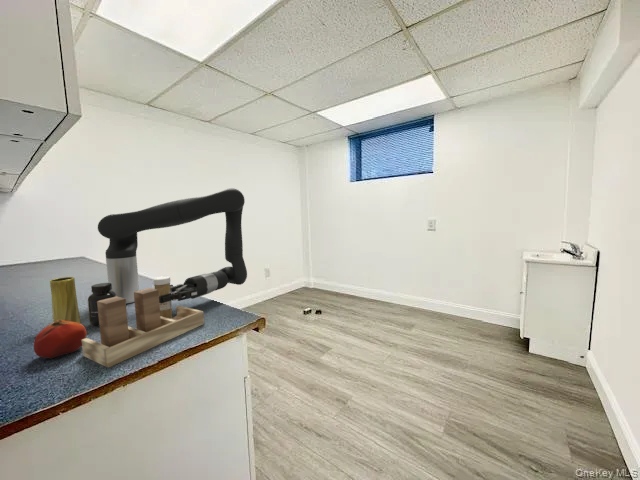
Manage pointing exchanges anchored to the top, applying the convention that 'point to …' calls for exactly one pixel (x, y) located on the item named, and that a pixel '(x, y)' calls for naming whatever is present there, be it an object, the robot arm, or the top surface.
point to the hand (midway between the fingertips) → (154, 299)
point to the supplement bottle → (99, 293)
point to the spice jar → (164, 288)
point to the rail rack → (150, 327)
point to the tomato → (59, 339)
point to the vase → (64, 300)
